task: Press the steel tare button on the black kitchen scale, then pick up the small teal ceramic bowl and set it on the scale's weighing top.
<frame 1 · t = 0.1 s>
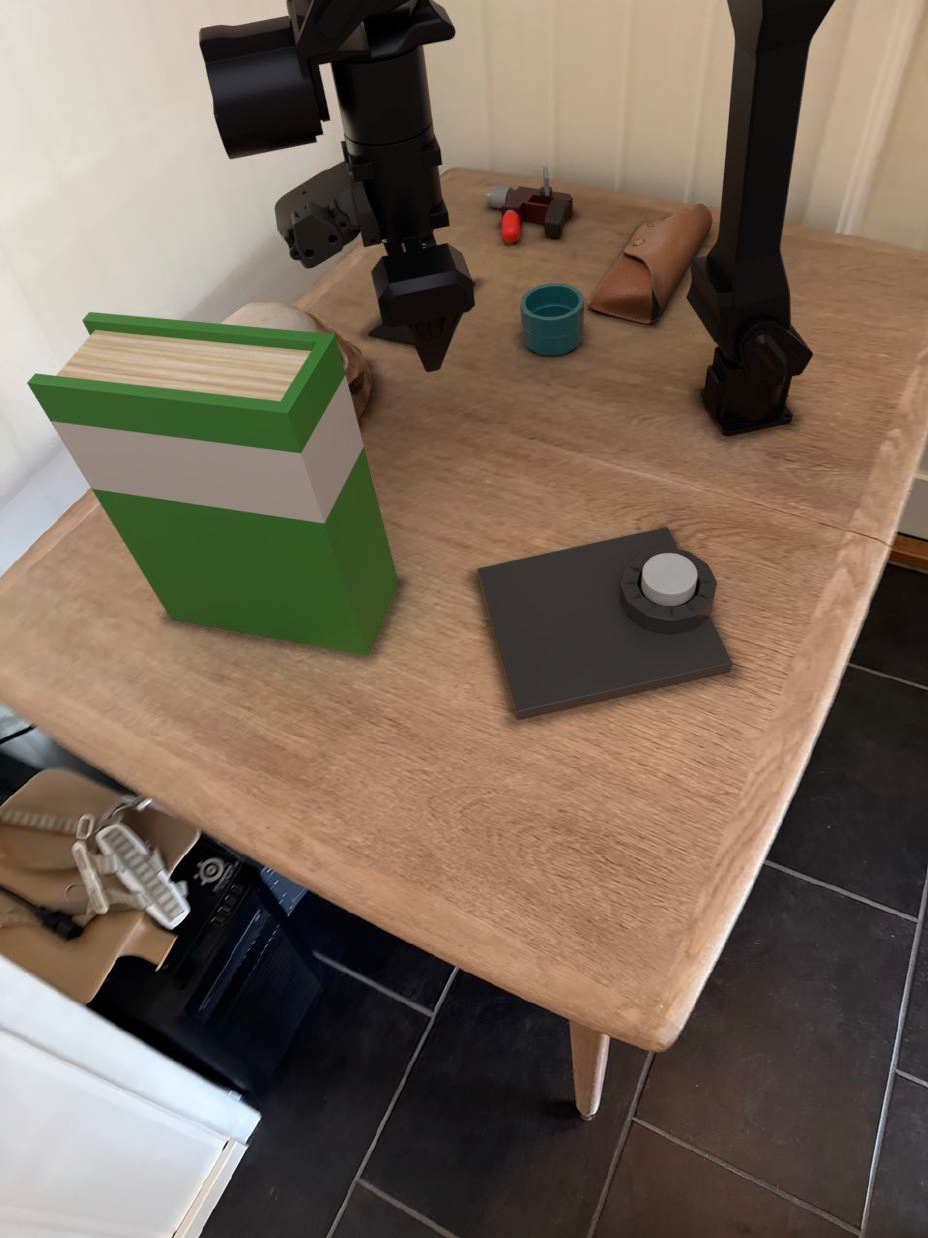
hand: (422, 334, 68), 15 cm above the table, tool pointing down, fingers open, 9 cm apart
bowl: (553, 339, 90), on the table
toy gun: (520, 226, 104), on the table
tare button: (668, 579, 66), point 3 cm above the table, slide at 0.1 cm
sunglasses case: (650, 274, 96), on the table
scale: (596, 622, 68), on the table
coin bank: (301, 420, 87), on the table
hardback book: (285, 602, 73), on the table
build plate: (423, 311, 96), on the table
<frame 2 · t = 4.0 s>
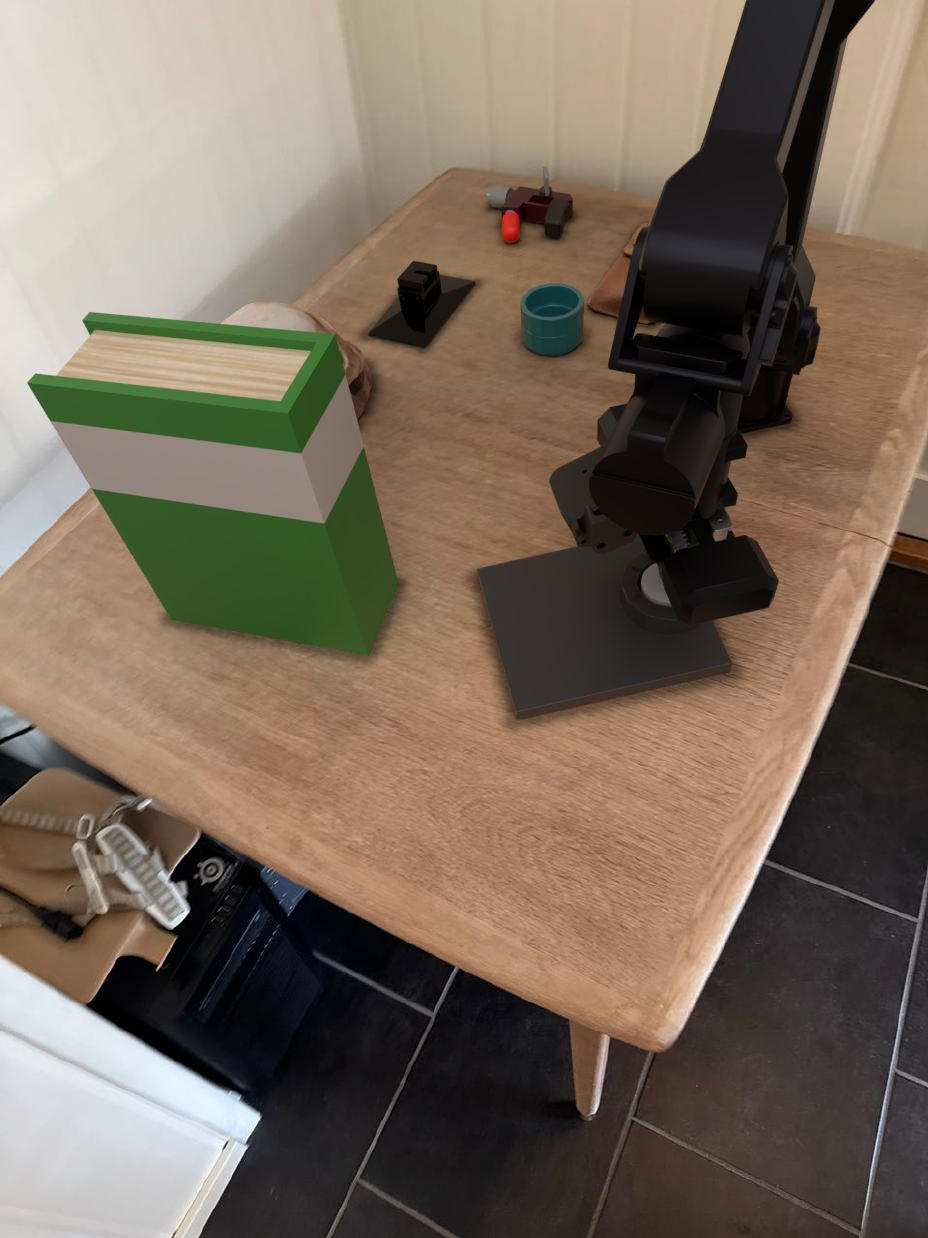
hand: (668, 580, 66), 3 cm above the table, tool pointing down, fingers closed, pressing on tare button
tare button: (667, 587, 66), point 2 cm above the table, slide at -0.9 cm, touching gripper
everything else where it was.
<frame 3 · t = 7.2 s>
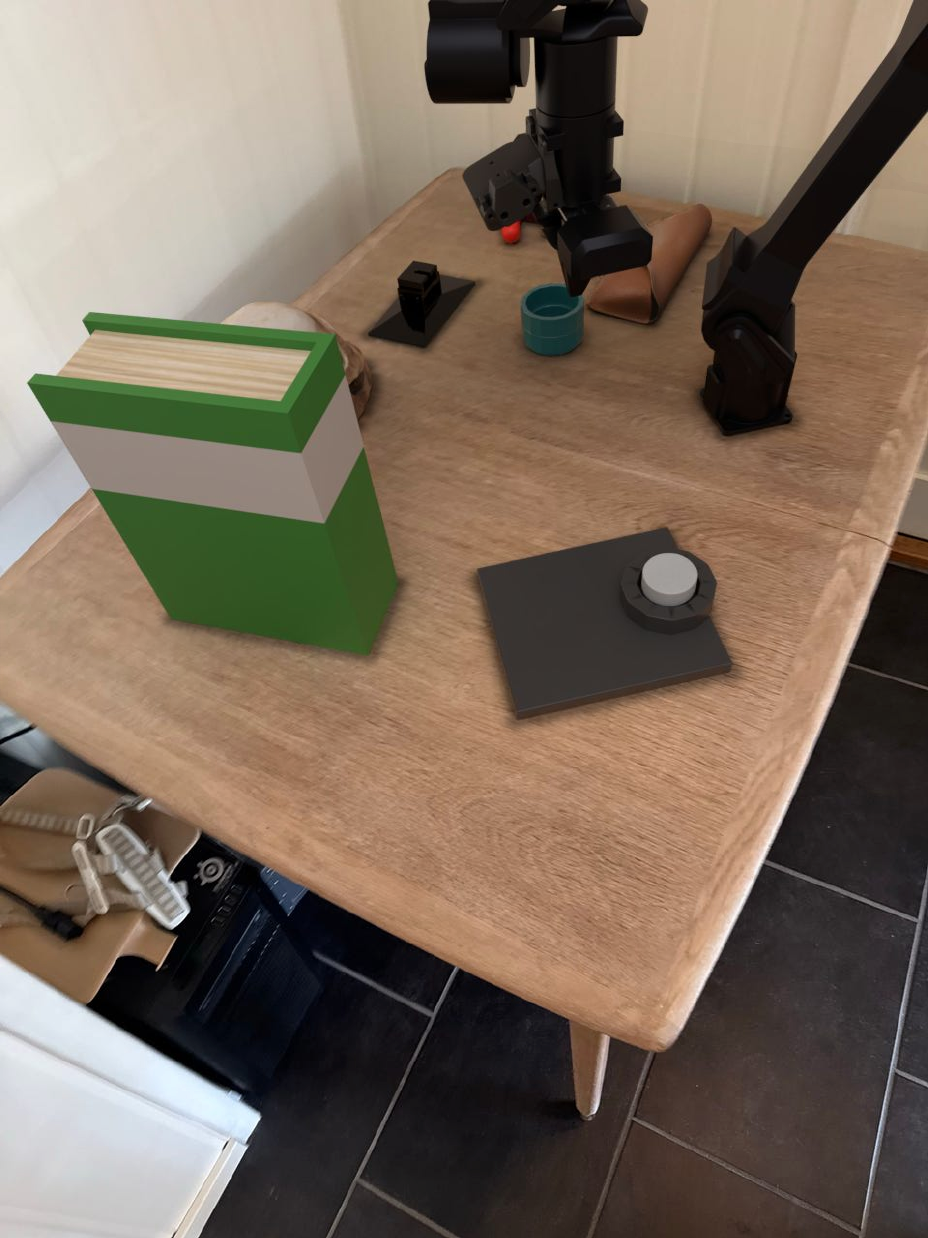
hand: (574, 294, 76), 11 cm above the table, tool pointing down, fingers closed
tare button: (668, 579, 66), point 3 cm above the table, slide at 0.1 cm
everything else where it was.
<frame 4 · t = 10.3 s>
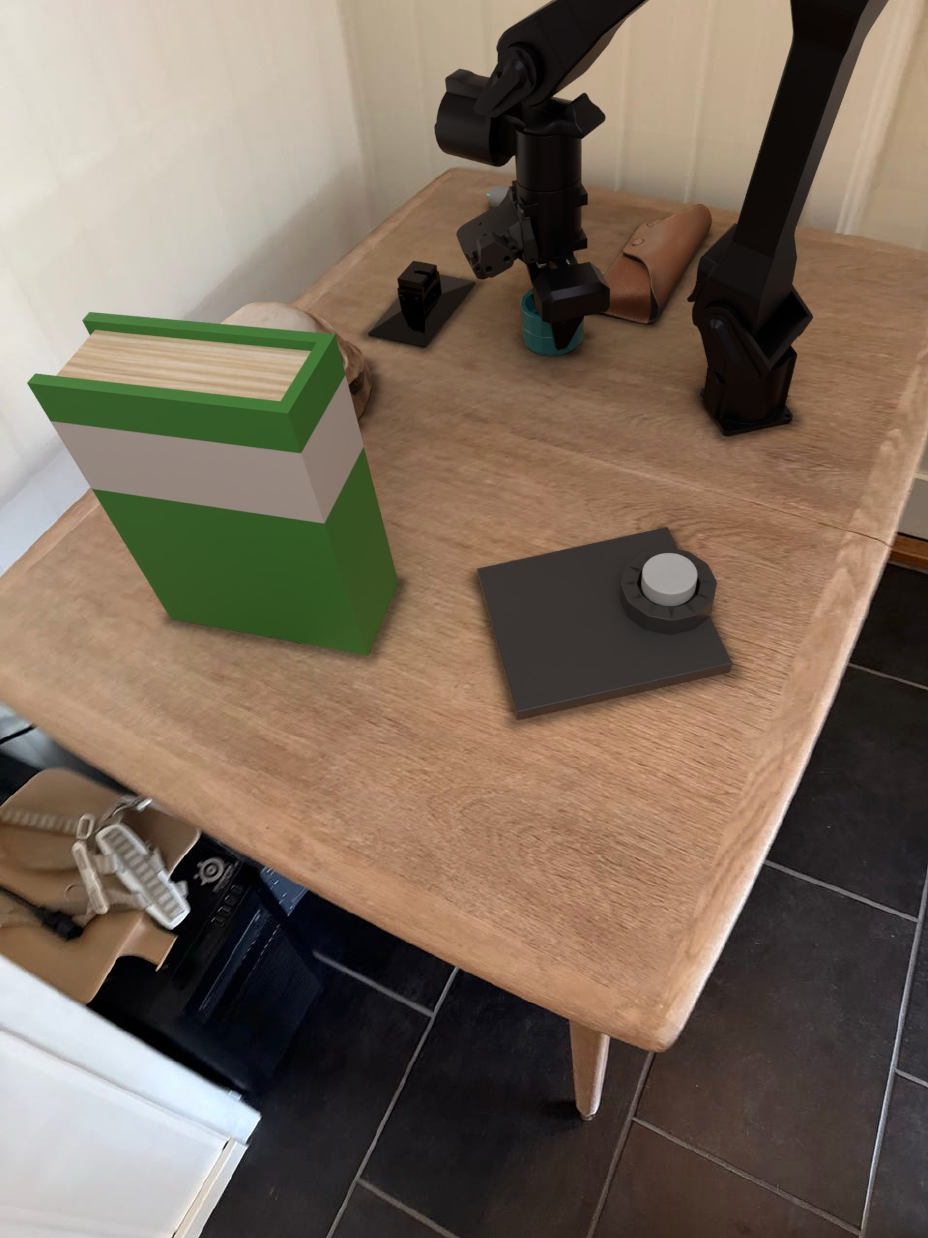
hand: (552, 329, 89), 1 cm above the table, tool pointing down, fingers closed on bowl, 6 cm apart
bowl: (553, 339, 90), on the table, touching gripper
everything else where it was.
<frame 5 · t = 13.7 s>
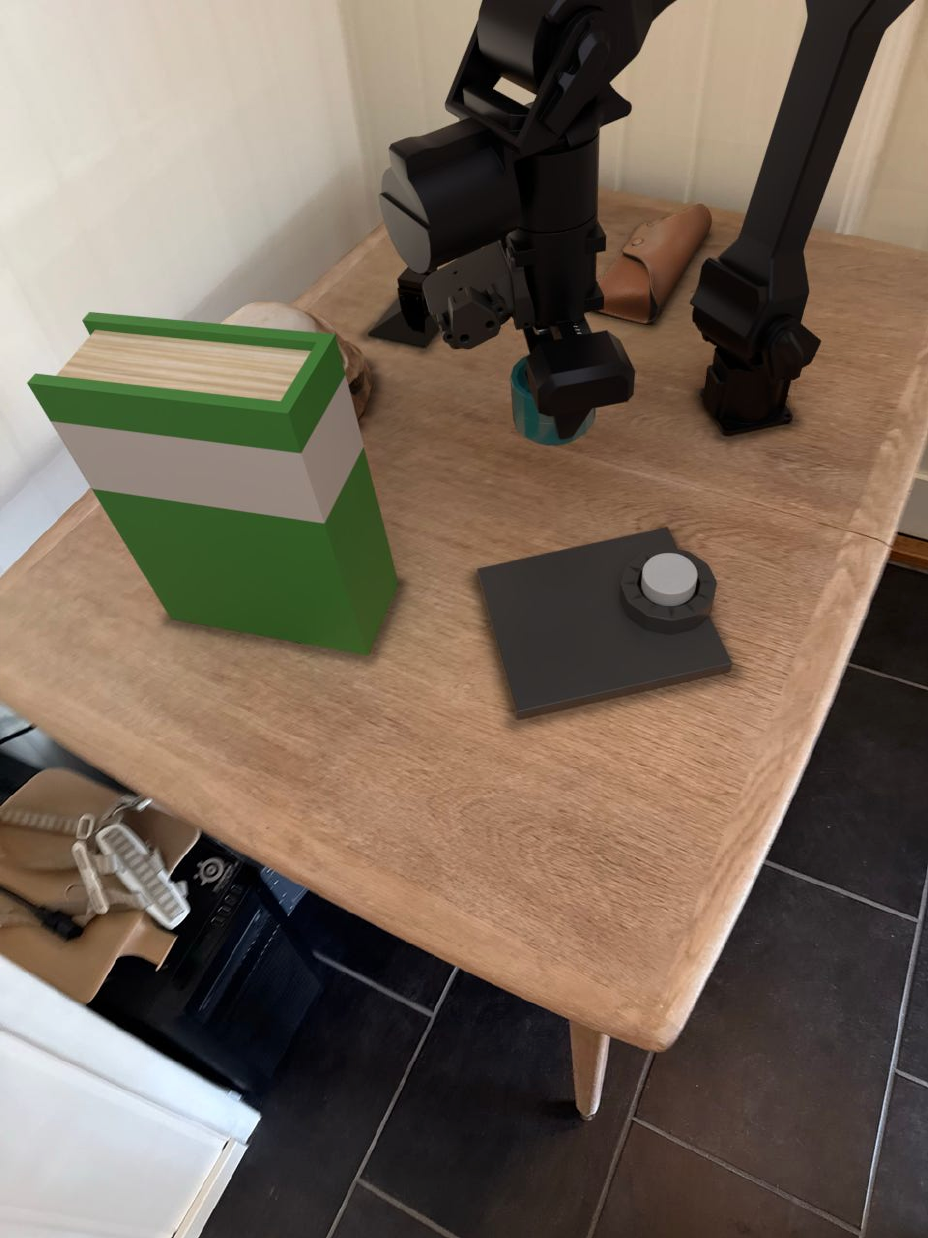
hand: (555, 409, 67), 11 cm above the table, tool pointing down, fingers closed on bowl, 6 cm apart
bowl: (554, 422, 68), point 10 cm above the table, touching gripper
everything else where it was.
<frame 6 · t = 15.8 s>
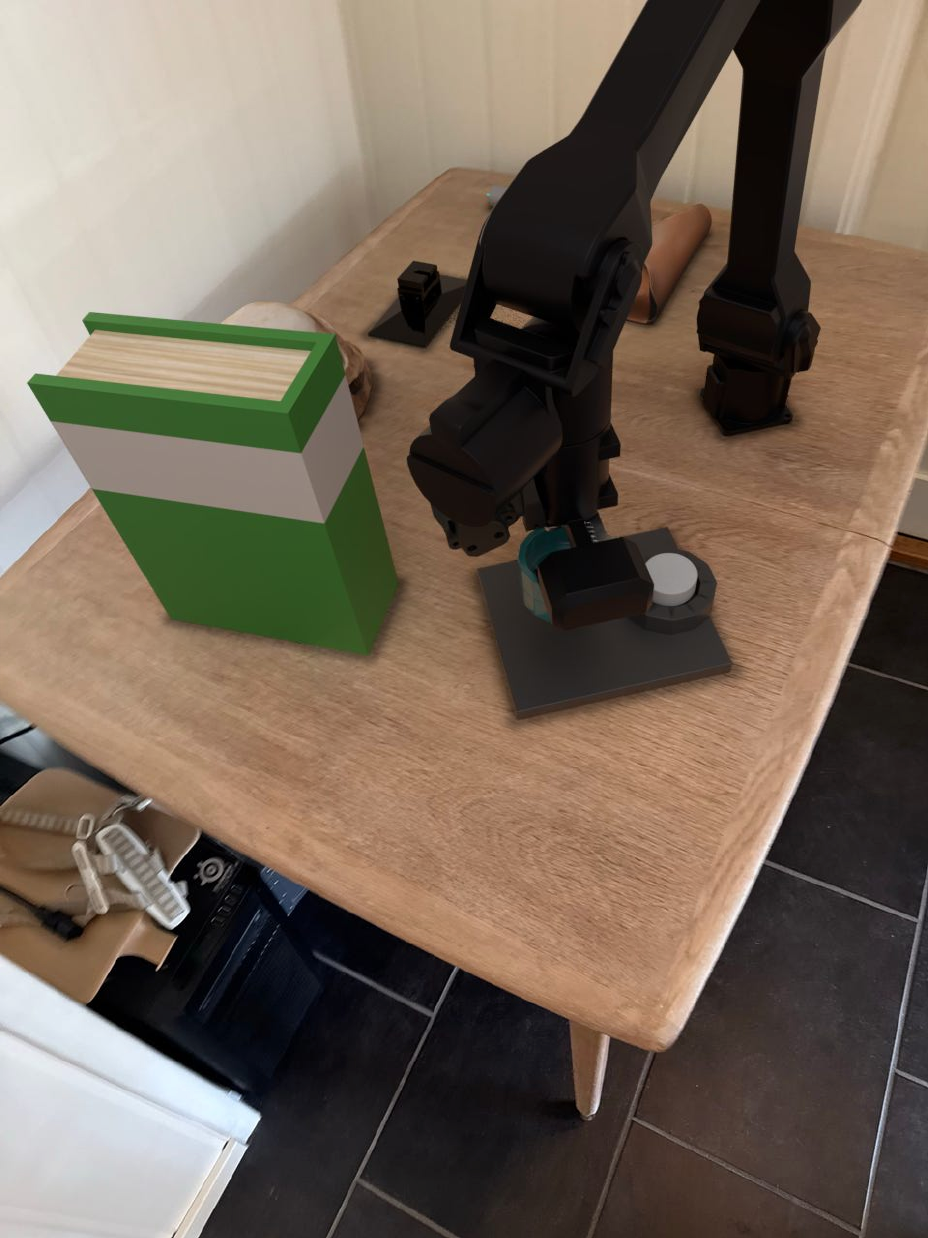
hand: (565, 583, 64), 6 cm above the table, tool pointing down, fingers closed on bowl, 6 cm apart
bowl: (563, 594, 64), point 4 cm above the table, touching gripper
everything else where it was.
when the fingers open (2 cm above the table, at t = 17.4 s): bowl stays where it is, resting on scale.
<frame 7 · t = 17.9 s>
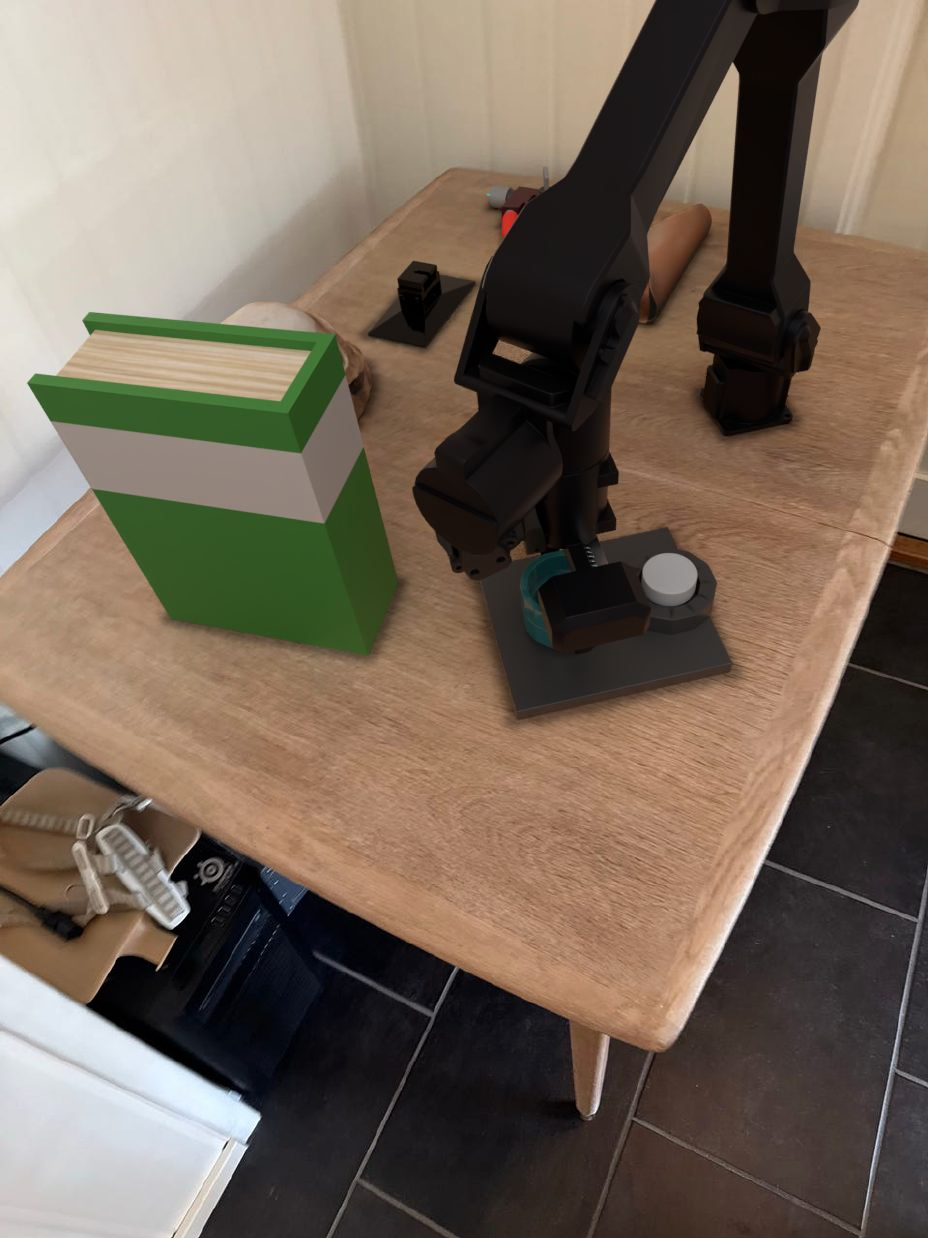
hand: (564, 602, 65), 3 cm above the table, tool pointing down, fingers open, 9 cm apart
bowl: (564, 620, 67), point 1 cm above the table, touching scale
everything else where it was.
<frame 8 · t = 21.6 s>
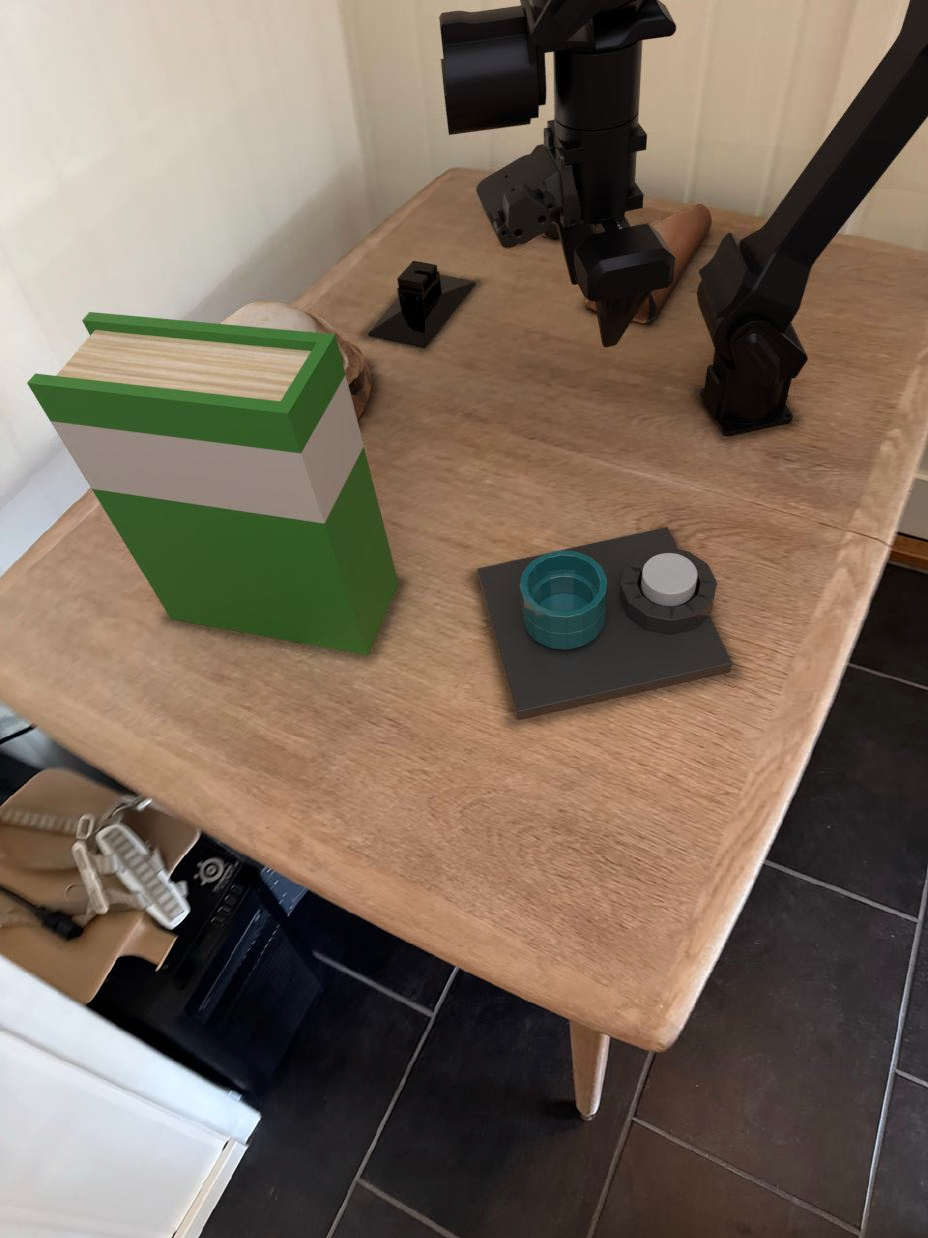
hand: (593, 313, 72), 12 cm above the table, tool pointing down, fingers open, 9 cm apart
nothing on the table moved.
at the end: tare button pushed in 1.1 cm at the most during the clip, back to where it started at the end; bowl inside the target area on the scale (0.4 cm from its centre), point 1.2 cm above the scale's base; bowl touching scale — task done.
